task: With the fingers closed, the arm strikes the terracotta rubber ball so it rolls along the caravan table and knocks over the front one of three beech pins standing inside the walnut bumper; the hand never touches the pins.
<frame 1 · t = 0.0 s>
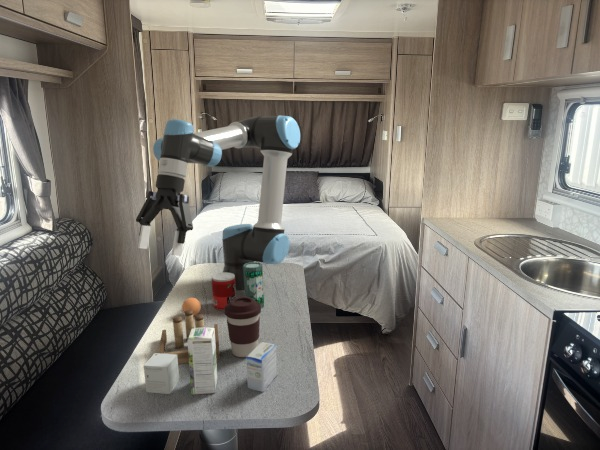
hand: (158, 251, 124), 28 cm above the table, tool tilted 20°, fingers open, 13 cm apart
front pin: (190, 339, 133), on the table
product box: (163, 387, 110), on the table
rear pin 1: (201, 344, 130), on the table
canned food: (225, 306, 156), on the table
rear pin 2: (179, 347, 129), on the table
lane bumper: (190, 347, 128), on the table
syrup box: (205, 388, 109), on the table
ball: (191, 306, 149), on the table
medicine box: (263, 382, 111), on the table
can: (254, 306, 155), on the table
coffee cup: (245, 351, 126), on the table
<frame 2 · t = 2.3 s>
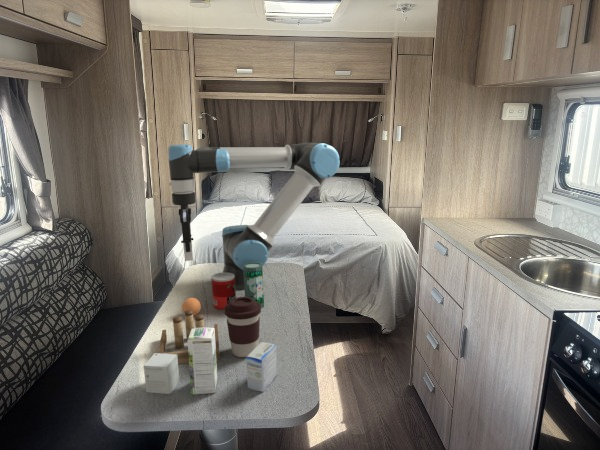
hand: (188, 259, 155), 16 cm above the table, tool pointing down, fingers closed
nothing on the table moved.
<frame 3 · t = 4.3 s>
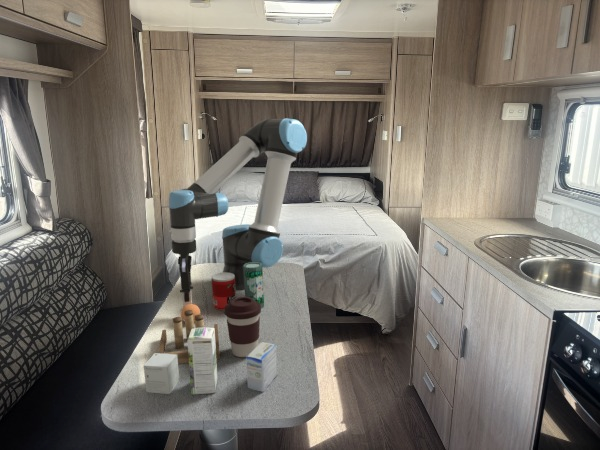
hand: (187, 309, 147), 3 cm above the table, tool pointing down, fingers closed
ball: (190, 313, 144), on the table
everything else where it was.
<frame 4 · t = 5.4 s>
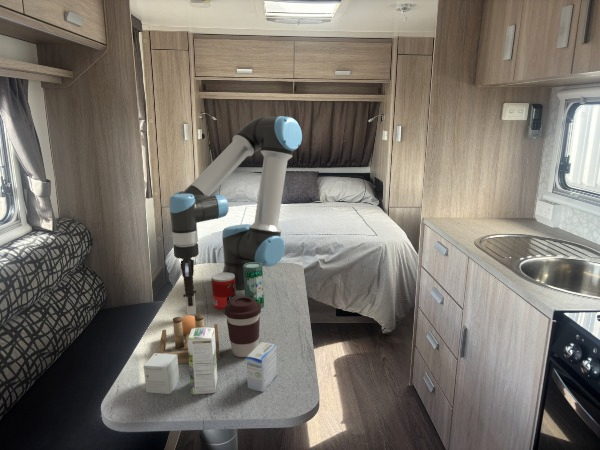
hand: (191, 313, 146), 2 cm above the table, tool pointing down, fingers closed
front pin: (189, 337, 132), point 1 cm above the table, tilted 90°
ball: (189, 325, 135), on the table
everything else where it was.
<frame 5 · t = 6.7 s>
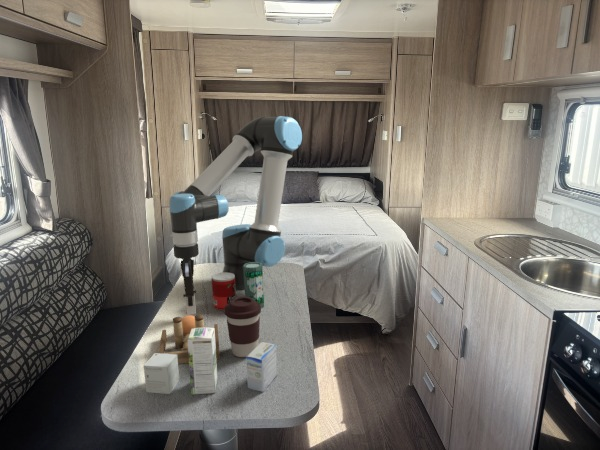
hand: (191, 313, 146), 2 cm above the table, tool pointing down, fingers closed
nothing on the table moved.
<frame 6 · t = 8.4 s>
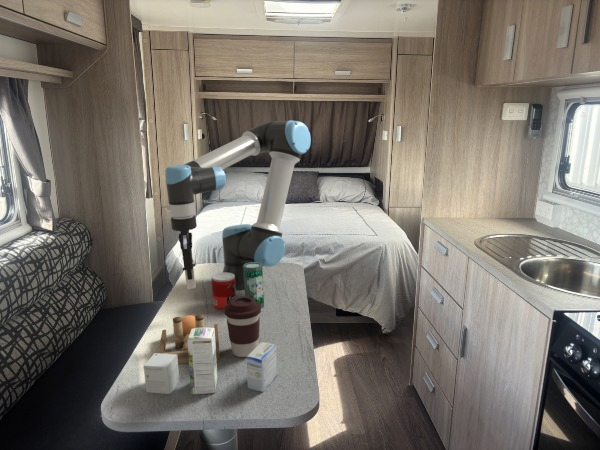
hand: (191, 287, 145), 11 cm above the table, tool pointing down, fingers closed
nothing on the table moved.
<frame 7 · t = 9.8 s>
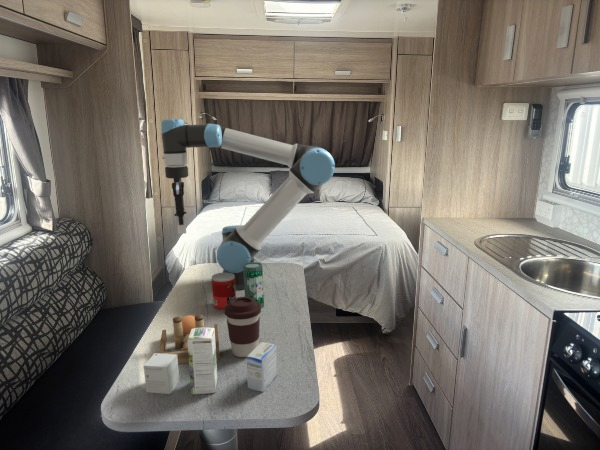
hand: (182, 233, 158), 24 cm above the table, tool pointing down, fingers closed
nothing on the table moved.
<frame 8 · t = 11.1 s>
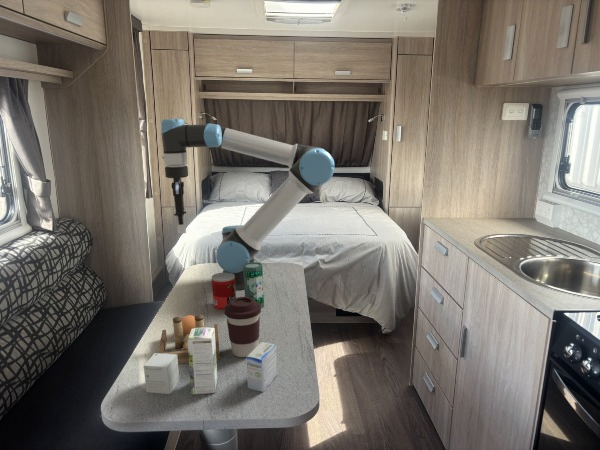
hand: (181, 232, 159), 24 cm above the table, tool pointing down, fingers closed
nothing on the table moved.
at the end: front pin tilted 90°; front pin never touched the robot; ball moved 13.9 cm from its start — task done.
